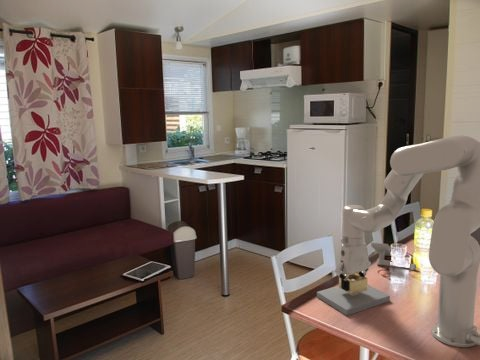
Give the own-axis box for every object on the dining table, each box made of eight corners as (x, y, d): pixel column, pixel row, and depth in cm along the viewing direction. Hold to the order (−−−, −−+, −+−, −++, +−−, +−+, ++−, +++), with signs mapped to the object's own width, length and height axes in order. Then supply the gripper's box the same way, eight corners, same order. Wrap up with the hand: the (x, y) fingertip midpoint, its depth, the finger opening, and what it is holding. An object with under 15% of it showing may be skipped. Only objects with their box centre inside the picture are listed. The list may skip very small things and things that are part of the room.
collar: (367, 290, 148) (367, 278, 147) (352, 294, 145) (352, 282, 144) (353, 283, 154) (353, 271, 154) (338, 287, 151) (338, 275, 150)
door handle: (377, 268, 191) (368, 260, 175) (379, 251, 193) (371, 242, 177) (419, 274, 182) (413, 266, 166) (420, 256, 184) (415, 247, 168)
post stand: (389, 300, 148) (390, 282, 147) (346, 315, 139) (346, 296, 138) (357, 284, 162) (358, 267, 161) (316, 297, 153) (316, 279, 152)
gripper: (341, 247, 139) (341, 297, 142) (379, 238, 147) (378, 285, 150) (327, 241, 146) (327, 289, 149) (364, 233, 154) (363, 278, 157)
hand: (353, 286), depth 150 cm, fingers closed on collar, 6 cm apart
